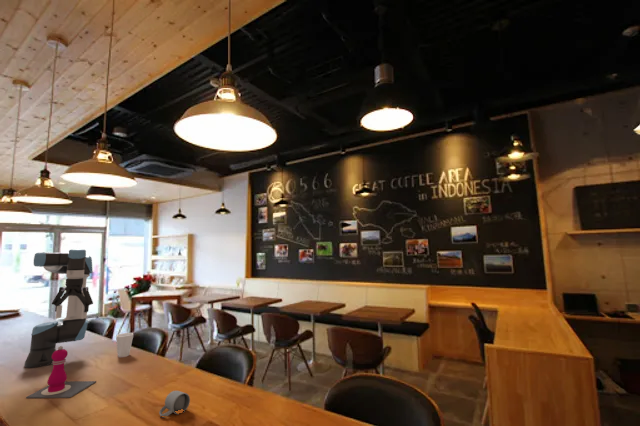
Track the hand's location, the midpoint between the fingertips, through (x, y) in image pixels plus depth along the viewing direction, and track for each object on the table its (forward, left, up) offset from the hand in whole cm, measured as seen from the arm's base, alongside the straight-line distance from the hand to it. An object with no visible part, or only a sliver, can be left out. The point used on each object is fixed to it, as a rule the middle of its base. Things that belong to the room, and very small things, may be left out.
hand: (71, 318), depth 166 cm
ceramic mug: (+71, -34, -32) cm, 85 cm away
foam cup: (+7, +38, -32) cm, 50 cm away
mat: (+8, -12, -31) cm, 34 cm away
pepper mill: (+6, -13, -31) cm, 34 cm away
